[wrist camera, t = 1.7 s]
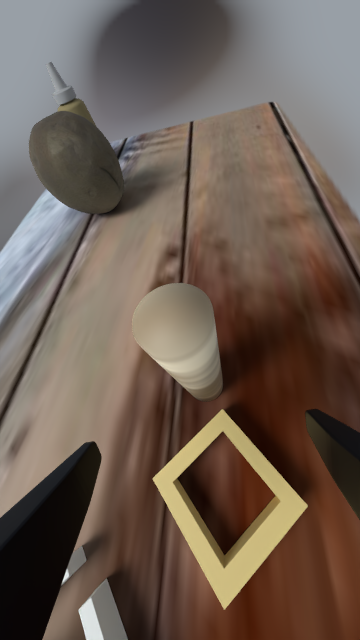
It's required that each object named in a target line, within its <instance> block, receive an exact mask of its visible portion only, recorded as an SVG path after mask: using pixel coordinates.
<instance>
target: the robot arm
mask: <svg viewBox="0 0 360 640" xmlns="http://www.w3.org/2000/svg"><path fill="white" fill-rule="evenodd" d="M305 416H306V426H307V430H308V433H309V435H310V437H311V439H312V441H313V442H314V444H315V446H316V448H317V450H318V452H319V454H320V456H321V458H322V459H323V461H324V463H325V465H326V467H327V469H328V471H329V472H330V474H331V476H332V478H333V479H334V481H335V483H336V484H337V486H338V487H339V489H340V491H341V492H342V494H343V495H344V497H345V498H346V500H347V501H348V503H349V504H350V506H351V507H352V509H353V511H354V512H355V514H356V515H357V517H358V518H359V520H360V433H359V432H358V431H356V430H354V429H352V428H350V427H349V426H347V425H345V424H343V423H341V422H340V421H338V420H336V419H334V418H333V417H331V416H329V415H327V414H325V413H324V412H322V411H320V410H318V409H311V410H307V411H306V412H305ZM100 464H101V453H100V451H99V449H98V446H97V444H96V443H95V442H93V441H92V442H86V443H84V444H83V445H82V446H81V447H80V448H79V449H78V450H76V451H75V452H74V453H73V454H72V455H71V456H70V457H68V458H67V459H66V460H65V461H64V462H63V463H62V464H61V465H59V466H58V467H57V468H56V469H55V470H54V471H53V472H52V473H50V474H49V475H48V476H47V477H46V478H45V479H44V480H43V481H41V482H40V483H39V484H38V485H37V486H36V487H35V488H34V489H32V490H31V491H30V492H29V493H28V494H27V495H26V496H24V497H23V498H22V499H21V500H20V501H19V502H18V503H17V504H15V505H14V506H13V507H12V508H11V509H10V510H9V511H8V512H6V513H5V514H4V515H3V516H2V517H1V518H0V640H42V639H43V636H44V633H45V630H46V627H47V624H48V622H49V619H50V616H51V613H52V610H53V607H54V605H55V602H56V599H57V596H58V593H59V590H60V587H61V585H62V582H63V579H64V576H65V573H66V570H67V567H68V565H69V562H70V559H71V556H72V553H73V550H74V547H75V545H76V542H77V539H78V536H79V533H80V530H81V527H82V525H83V522H84V519H85V516H86V513H87V510H88V507H89V504H90V501H91V498H92V494H93V490H94V486H95V483H96V479H97V475H98V471H99V468H100Z"/></svg>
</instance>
